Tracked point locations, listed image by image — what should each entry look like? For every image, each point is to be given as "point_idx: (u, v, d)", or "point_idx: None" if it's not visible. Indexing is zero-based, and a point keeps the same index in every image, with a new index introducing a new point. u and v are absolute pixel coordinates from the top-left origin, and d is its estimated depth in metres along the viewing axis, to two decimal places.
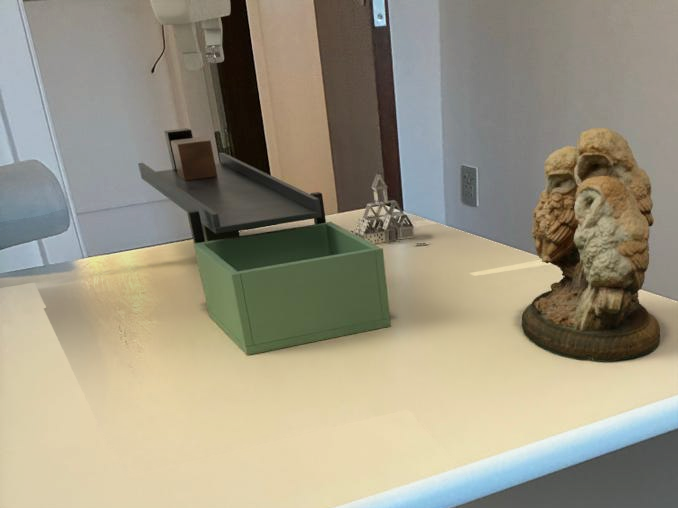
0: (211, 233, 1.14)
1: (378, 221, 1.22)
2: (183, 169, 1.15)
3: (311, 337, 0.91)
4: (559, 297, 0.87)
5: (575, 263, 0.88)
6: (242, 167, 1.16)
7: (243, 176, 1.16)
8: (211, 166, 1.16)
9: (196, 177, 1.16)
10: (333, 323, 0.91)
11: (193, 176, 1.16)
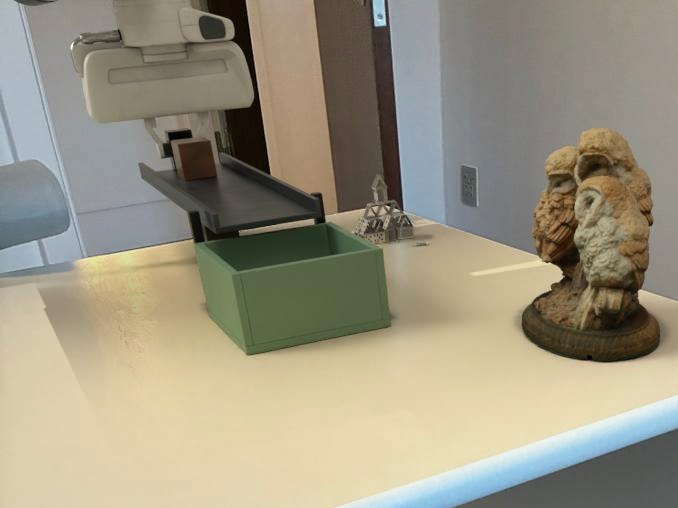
0: (211, 233, 1.14)
1: (378, 221, 1.22)
2: (183, 169, 1.15)
3: (311, 337, 0.91)
4: (559, 297, 0.87)
5: (575, 263, 0.88)
6: (242, 167, 1.16)
7: (243, 176, 1.16)
8: (211, 166, 1.16)
9: (196, 177, 1.16)
10: (333, 323, 0.91)
11: (193, 176, 1.16)
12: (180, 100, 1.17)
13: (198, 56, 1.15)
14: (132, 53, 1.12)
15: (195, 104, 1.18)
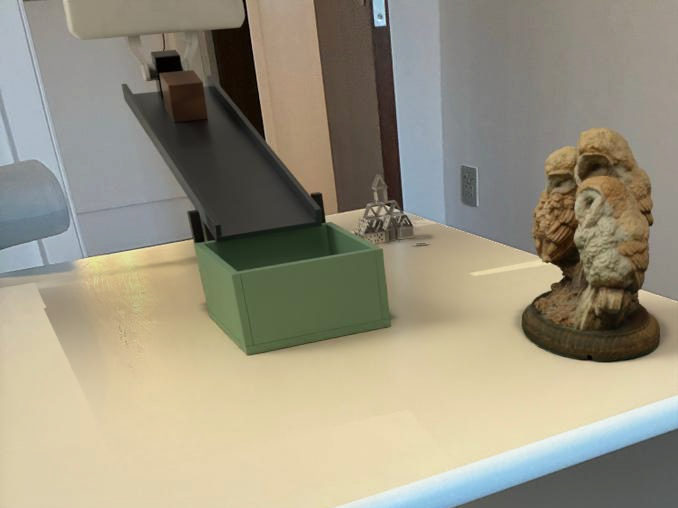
0: None
1: (378, 221, 1.22)
2: (173, 110, 1.10)
3: (311, 337, 0.91)
4: (559, 297, 0.87)
5: (575, 263, 0.88)
6: (234, 113, 1.12)
7: (235, 123, 1.12)
8: (202, 108, 1.12)
9: (186, 119, 1.12)
10: (333, 323, 0.91)
11: (183, 118, 1.11)
12: (166, 17, 1.11)
13: None
14: None
15: (182, 22, 1.11)
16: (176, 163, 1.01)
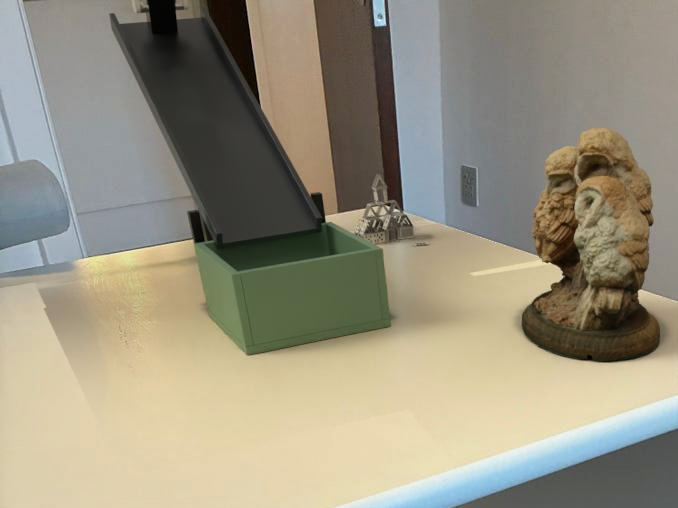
0: None
1: (378, 221, 1.22)
2: None
3: (311, 337, 0.91)
4: (559, 297, 0.87)
5: (575, 263, 0.88)
6: (231, 66, 1.08)
7: (231, 78, 1.08)
8: None
9: None
10: (333, 323, 0.91)
11: None
12: None
13: None
14: None
15: None
16: (173, 141, 0.99)
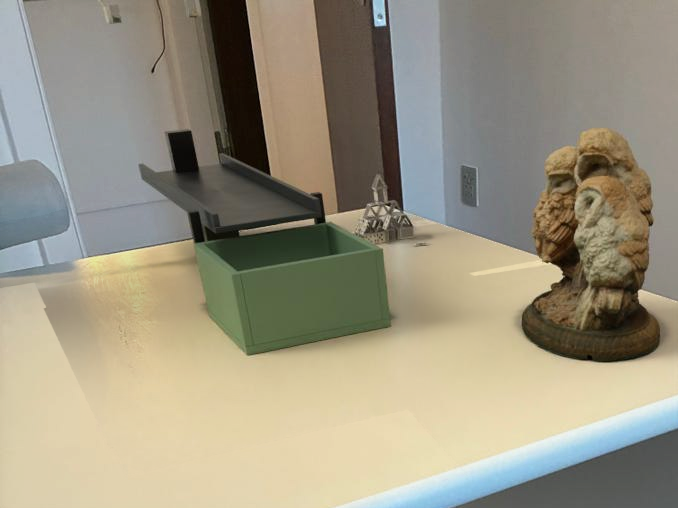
0: (211, 233, 1.14)
1: (378, 221, 1.22)
2: None
3: (311, 337, 0.91)
4: (559, 297, 0.87)
5: (575, 263, 0.88)
6: (242, 168, 1.16)
7: (243, 177, 1.16)
8: None
9: None
10: (333, 323, 0.91)
11: None
12: None
13: None
14: None
15: None
16: (181, 191, 1.04)
